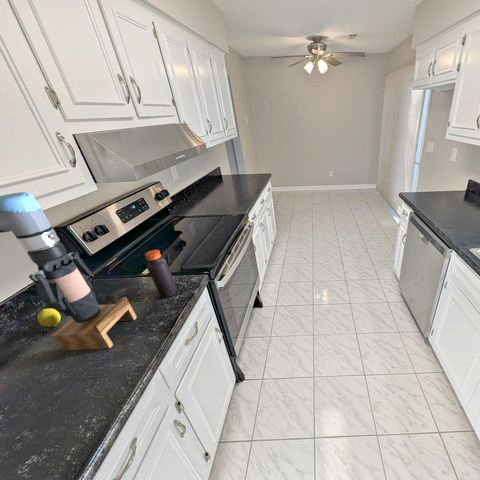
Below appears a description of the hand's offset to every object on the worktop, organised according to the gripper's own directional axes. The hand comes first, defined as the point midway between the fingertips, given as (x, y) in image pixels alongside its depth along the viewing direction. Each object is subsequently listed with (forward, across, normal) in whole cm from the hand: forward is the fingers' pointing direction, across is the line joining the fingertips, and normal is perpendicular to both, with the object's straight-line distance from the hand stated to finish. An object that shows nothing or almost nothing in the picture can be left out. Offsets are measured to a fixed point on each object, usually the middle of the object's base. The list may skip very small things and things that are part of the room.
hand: (82, 305), depth 84 cm
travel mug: (+4, 0, 0) cm, 4 cm away
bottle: (+13, +21, -14) cm, 28 cm away
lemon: (+13, +5, +21) cm, 25 cm away
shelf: (+13, 0, -1) cm, 13 cm away
